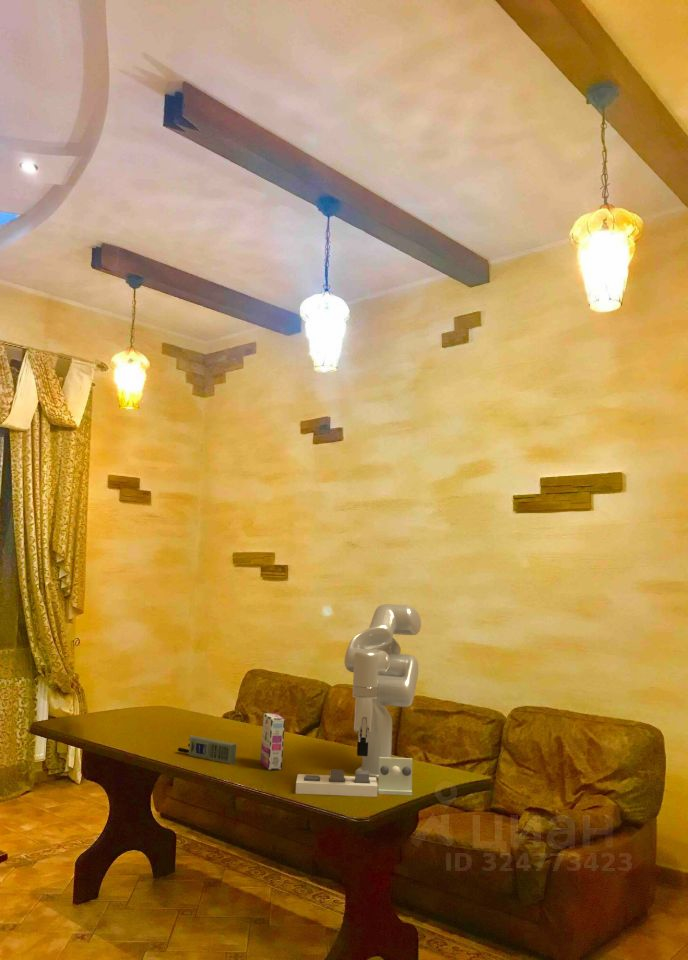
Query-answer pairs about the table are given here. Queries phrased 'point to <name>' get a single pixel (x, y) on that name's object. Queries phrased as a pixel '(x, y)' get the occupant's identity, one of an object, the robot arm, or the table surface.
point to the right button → (361, 776)
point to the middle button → (337, 775)
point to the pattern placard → (395, 776)
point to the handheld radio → (211, 749)
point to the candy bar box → (272, 741)
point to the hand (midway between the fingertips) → (362, 755)
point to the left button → (311, 778)
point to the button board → (336, 786)
